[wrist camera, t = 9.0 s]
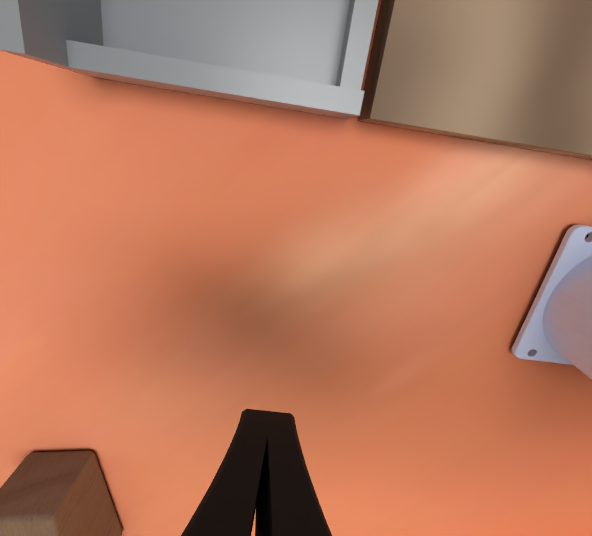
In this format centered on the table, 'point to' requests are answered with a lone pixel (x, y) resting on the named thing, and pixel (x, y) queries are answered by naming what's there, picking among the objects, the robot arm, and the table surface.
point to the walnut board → (485, 71)
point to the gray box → (206, 46)
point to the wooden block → (57, 497)
